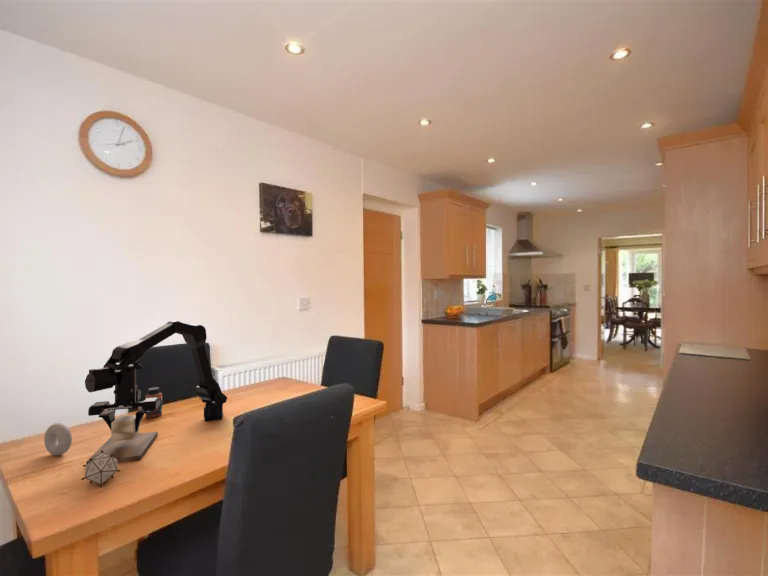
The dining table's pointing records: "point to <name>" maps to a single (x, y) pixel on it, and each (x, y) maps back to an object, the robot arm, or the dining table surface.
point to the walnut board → (128, 447)
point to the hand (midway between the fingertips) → (125, 432)
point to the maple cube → (123, 428)
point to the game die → (101, 468)
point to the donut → (58, 439)
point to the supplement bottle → (152, 394)
